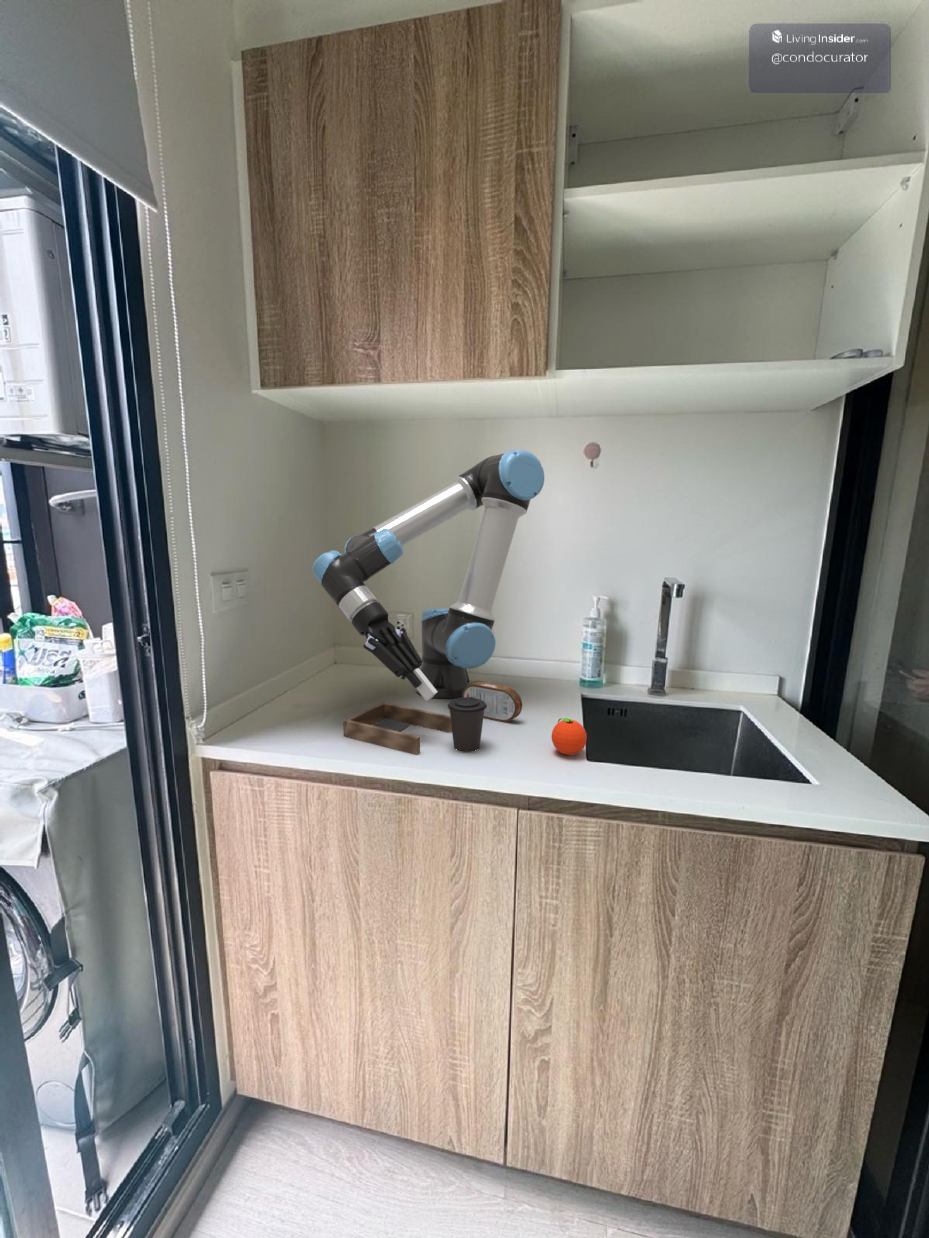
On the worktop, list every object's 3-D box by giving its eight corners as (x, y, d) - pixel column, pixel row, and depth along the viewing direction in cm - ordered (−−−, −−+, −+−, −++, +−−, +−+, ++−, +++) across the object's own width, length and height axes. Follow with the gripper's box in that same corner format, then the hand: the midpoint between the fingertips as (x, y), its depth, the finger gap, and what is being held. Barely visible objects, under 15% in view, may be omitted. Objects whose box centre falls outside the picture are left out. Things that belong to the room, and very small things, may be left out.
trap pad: (355, 735, 113) (355, 734, 113) (386, 719, 123) (386, 718, 123) (381, 742, 110) (381, 740, 110) (411, 725, 119) (411, 724, 119)
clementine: (541, 747, 108) (542, 714, 107) (570, 742, 111) (571, 710, 110) (562, 763, 101) (564, 728, 100) (593, 757, 103) (594, 723, 102)
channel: (343, 736, 113) (343, 720, 112) (383, 716, 125) (383, 702, 124) (417, 754, 104) (417, 738, 103) (452, 731, 116) (452, 716, 115)
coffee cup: (483, 738, 112) (484, 693, 111) (488, 754, 104) (489, 706, 103) (446, 739, 112) (446, 694, 110) (448, 755, 104) (448, 707, 102)
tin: (522, 722, 122) (523, 687, 121) (516, 726, 120) (517, 690, 118) (466, 710, 130) (466, 677, 128) (460, 714, 127) (460, 680, 126)
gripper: (373, 618, 121) (437, 697, 116) (335, 628, 110) (404, 716, 105) (391, 596, 118) (458, 677, 113) (354, 604, 106) (426, 695, 102)
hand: (432, 696), depth 109 cm, fingers closed
